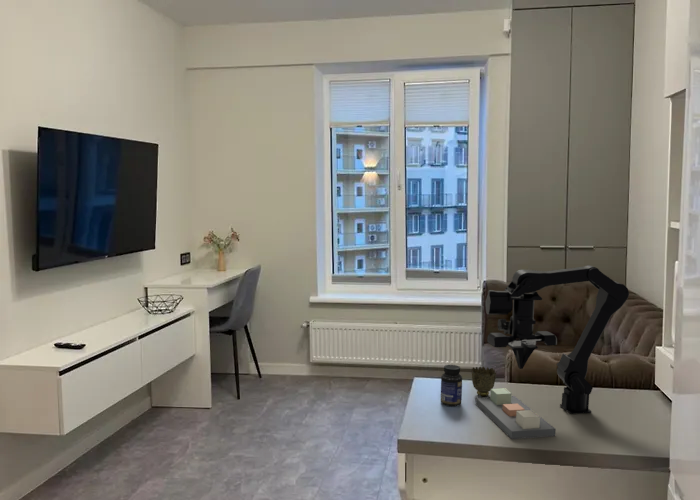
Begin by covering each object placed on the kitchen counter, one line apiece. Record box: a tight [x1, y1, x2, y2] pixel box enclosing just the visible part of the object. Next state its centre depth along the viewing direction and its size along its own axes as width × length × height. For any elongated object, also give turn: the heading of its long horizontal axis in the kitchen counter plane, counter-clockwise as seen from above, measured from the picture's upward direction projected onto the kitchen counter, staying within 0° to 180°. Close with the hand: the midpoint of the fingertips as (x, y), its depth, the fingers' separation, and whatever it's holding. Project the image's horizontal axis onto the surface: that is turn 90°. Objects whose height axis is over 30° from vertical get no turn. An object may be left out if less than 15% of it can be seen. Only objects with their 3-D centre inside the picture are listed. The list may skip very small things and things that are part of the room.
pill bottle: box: [440, 364, 463, 408], centre depth 178 cm, size 6×6×11 cm
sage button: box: [489, 387, 512, 405], centre depth 175 cm, size 4×4×3 cm
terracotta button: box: [502, 403, 525, 416], centre depth 167 cm, size 4×4×3 cm
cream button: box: [516, 409, 541, 429], centre depth 159 cm, size 4×4×3 cm
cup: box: [470, 366, 497, 398], centre depth 185 cm, size 8×7×8 cm
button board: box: [475, 395, 556, 440], centre depth 167 cm, size 12×24×2 cm, turn 10°
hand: (520, 368), depth 174 cm, fingers closed
